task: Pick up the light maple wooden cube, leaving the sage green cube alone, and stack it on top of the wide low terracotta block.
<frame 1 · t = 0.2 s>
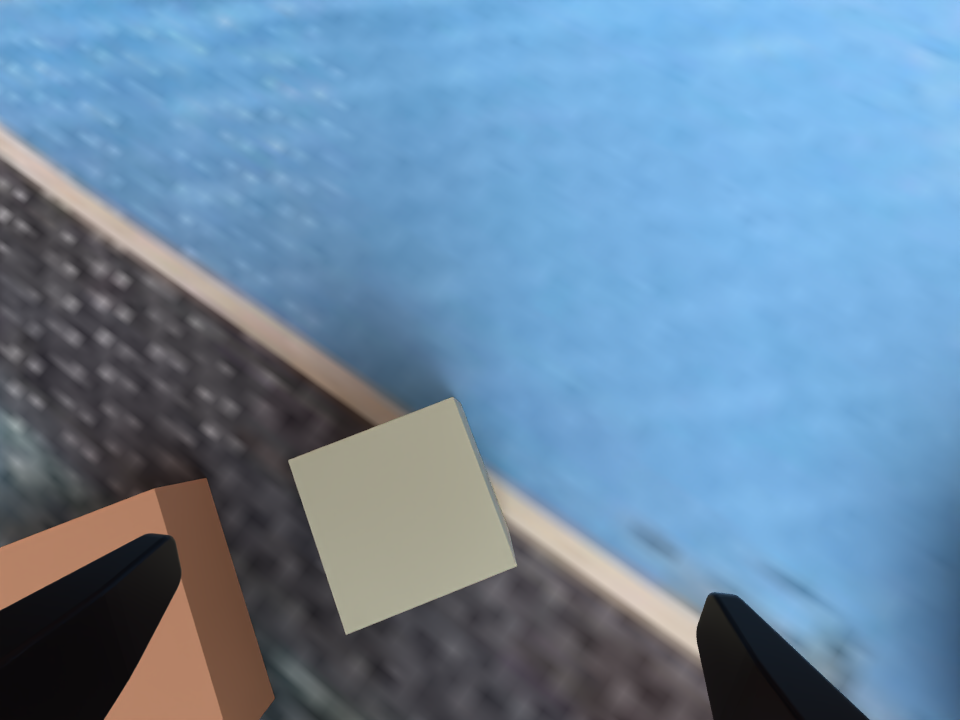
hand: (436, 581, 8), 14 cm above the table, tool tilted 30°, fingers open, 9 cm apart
sage green cube: (422, 488, 23), on the table
terracotta base block: (137, 624, 22), on the table
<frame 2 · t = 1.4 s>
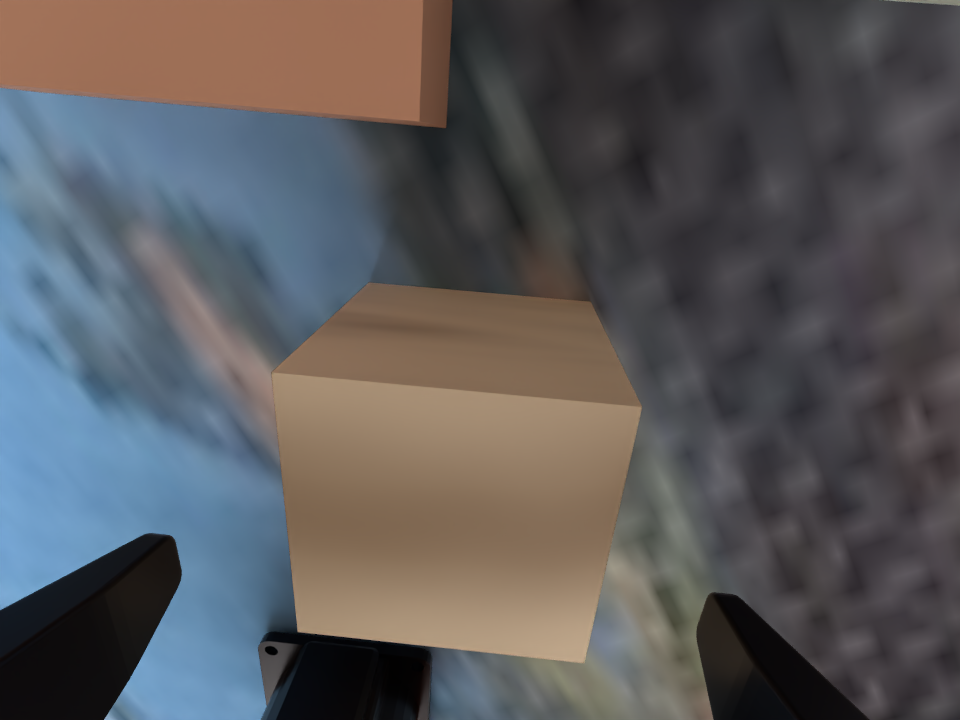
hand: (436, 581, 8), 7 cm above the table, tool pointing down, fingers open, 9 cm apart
maple cube: (471, 390, 15), on the table
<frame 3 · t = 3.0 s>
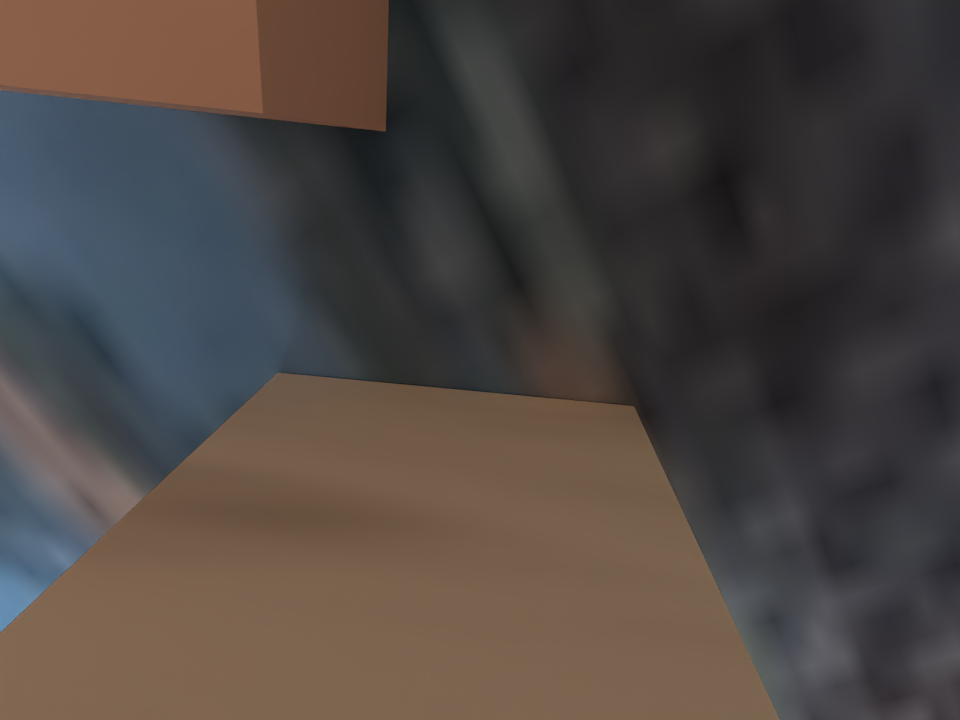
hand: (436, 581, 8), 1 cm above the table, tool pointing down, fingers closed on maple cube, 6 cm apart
maple cube: (445, 530, 10), on the table, touching gripper
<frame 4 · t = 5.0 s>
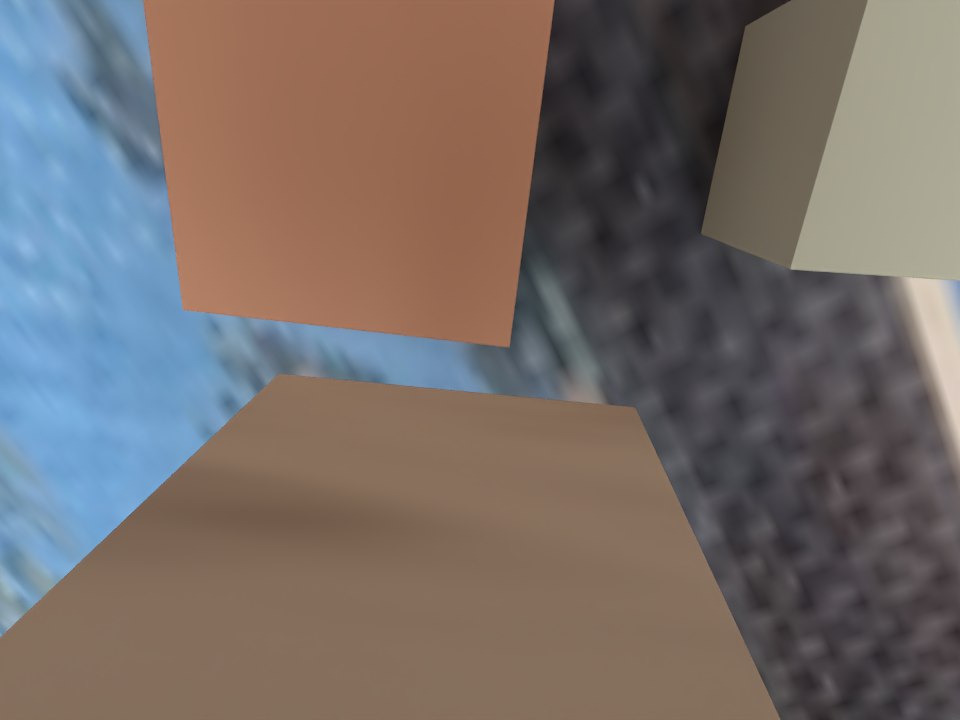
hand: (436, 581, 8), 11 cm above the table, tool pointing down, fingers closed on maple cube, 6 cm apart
maple cube: (446, 531, 10), point 10 cm above the table, touching gripper
sage green cube: (816, 143, 16), on the table
terracotta base block: (381, 152, 17), on the table
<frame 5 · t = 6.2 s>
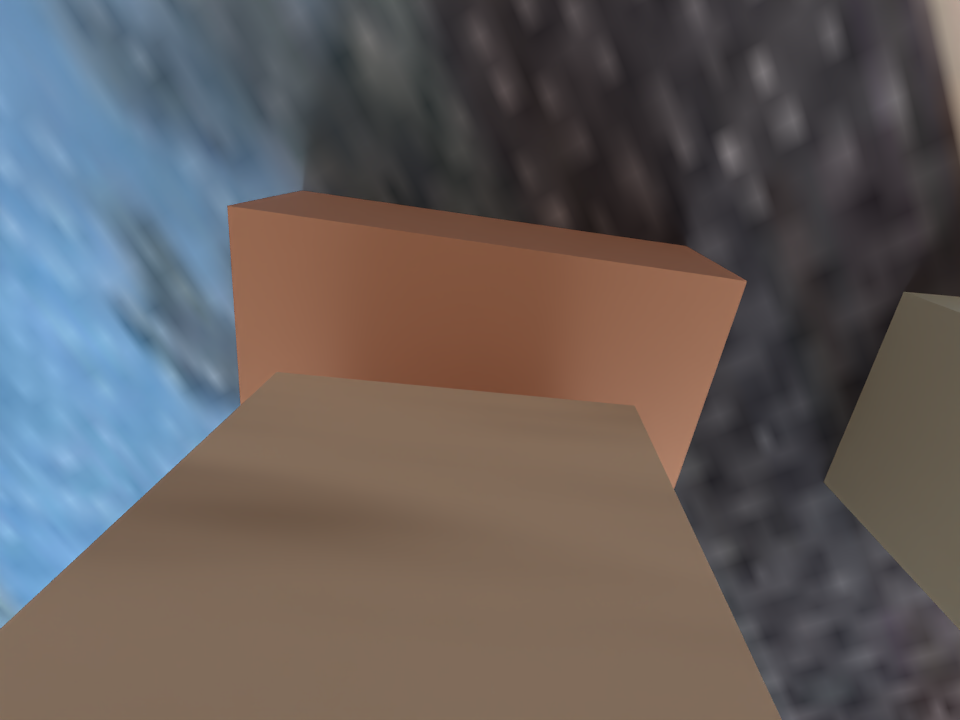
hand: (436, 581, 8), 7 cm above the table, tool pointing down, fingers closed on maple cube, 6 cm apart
maple cube: (445, 530, 10), point 6 cm above the table, touching gripper
terracotta base block: (470, 385, 15), on the table
when the fingers open (7 cm above the table, at t = 7.1 s): maple cube drops 2 cm, resting on terracotta base block.
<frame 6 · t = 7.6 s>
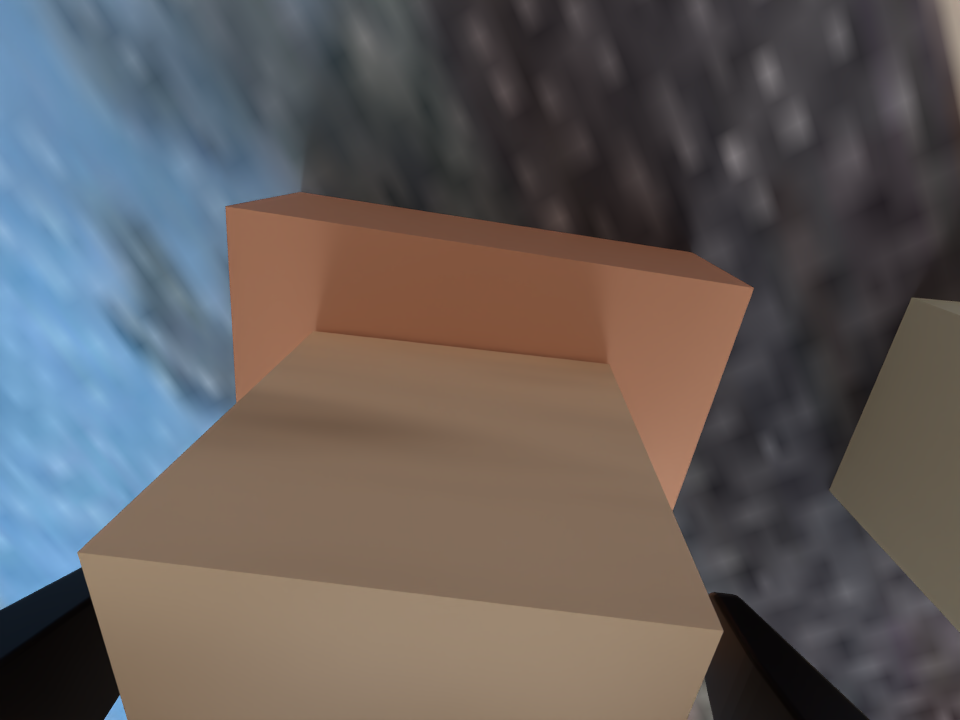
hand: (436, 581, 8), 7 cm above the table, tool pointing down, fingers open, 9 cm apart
maple cube: (449, 470, 11), point 4 cm above the table, touching terracotta base block
terracotta base block: (470, 390, 15), on the table, touching maple cube
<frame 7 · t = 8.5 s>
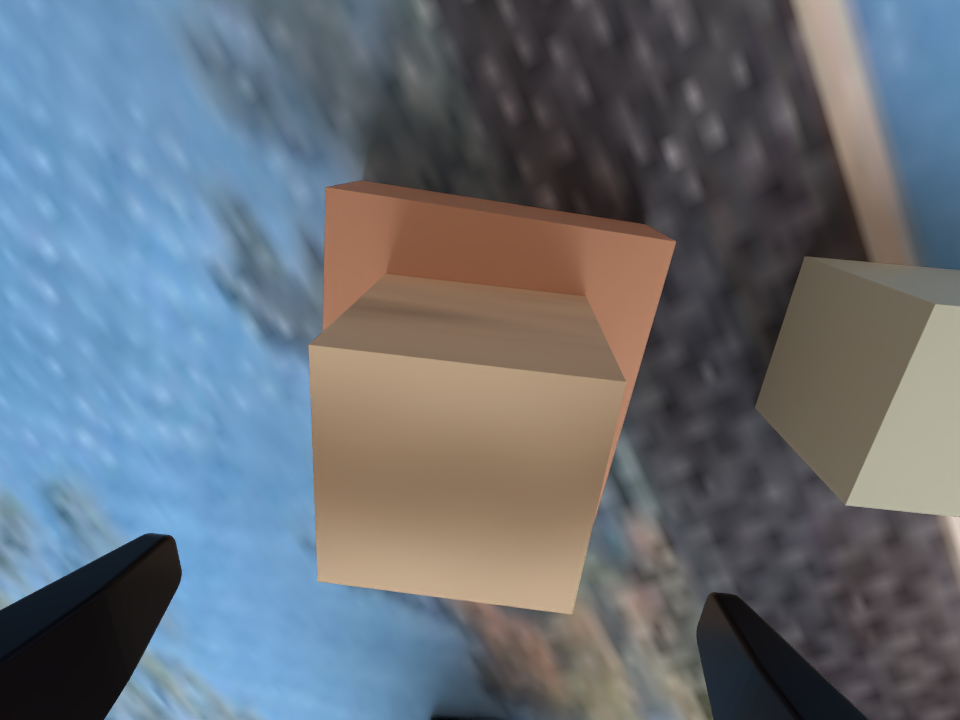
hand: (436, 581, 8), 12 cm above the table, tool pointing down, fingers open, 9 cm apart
maple cube: (475, 376, 16), point 4 cm above the table
sage green cube: (858, 343, 19), on the table
terracotta base block: (483, 332, 20), on the table
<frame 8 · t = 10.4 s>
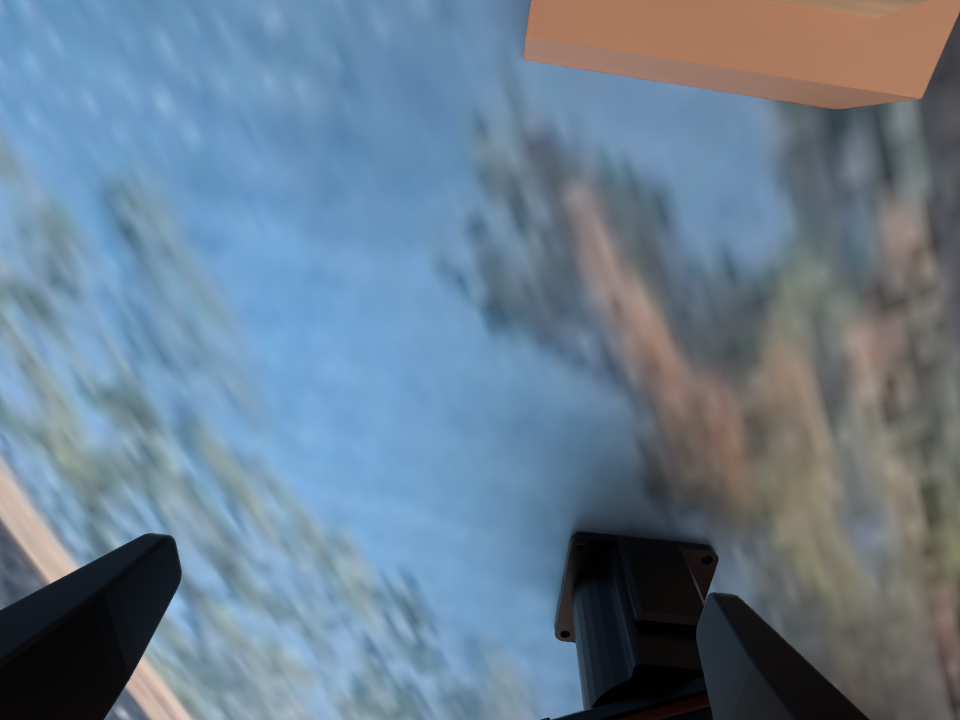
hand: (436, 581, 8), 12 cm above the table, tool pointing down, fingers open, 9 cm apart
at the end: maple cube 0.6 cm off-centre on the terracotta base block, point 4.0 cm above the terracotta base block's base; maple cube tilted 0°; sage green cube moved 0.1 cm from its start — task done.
